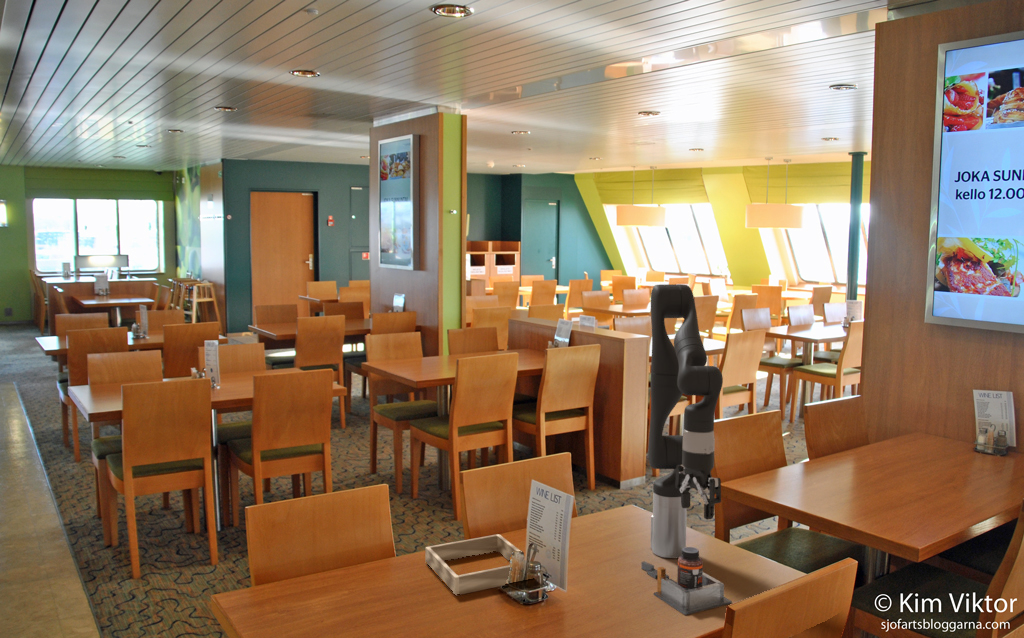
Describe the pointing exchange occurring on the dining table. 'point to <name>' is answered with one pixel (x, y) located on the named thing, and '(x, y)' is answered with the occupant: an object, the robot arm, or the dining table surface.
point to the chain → (652, 570)
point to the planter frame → (468, 548)
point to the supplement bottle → (690, 569)
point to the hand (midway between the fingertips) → (697, 513)
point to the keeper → (691, 594)
